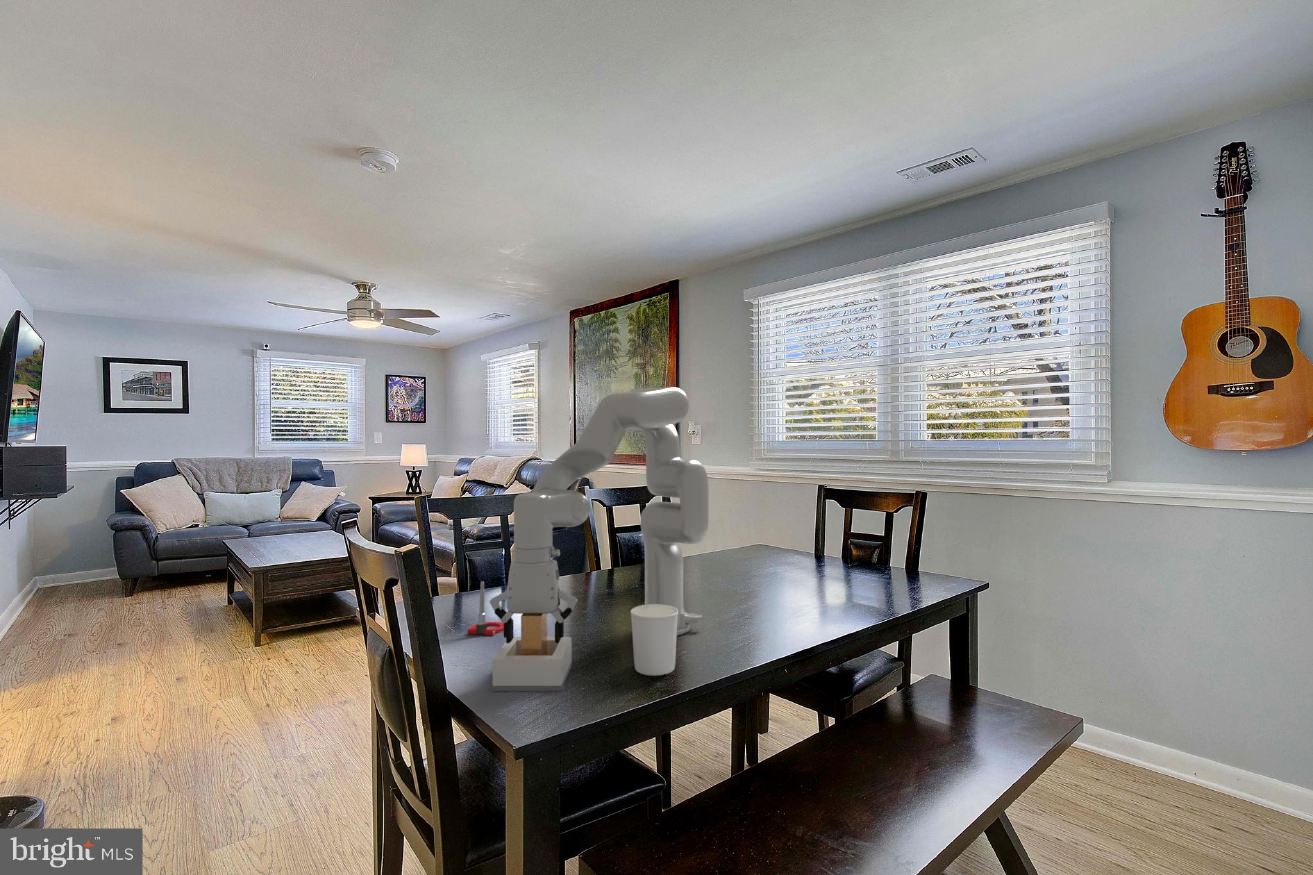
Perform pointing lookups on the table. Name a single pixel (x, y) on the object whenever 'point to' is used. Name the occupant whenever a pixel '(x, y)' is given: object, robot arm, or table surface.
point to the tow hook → (482, 625)
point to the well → (532, 667)
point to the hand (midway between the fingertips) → (533, 641)
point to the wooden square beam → (534, 635)
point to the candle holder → (654, 638)
